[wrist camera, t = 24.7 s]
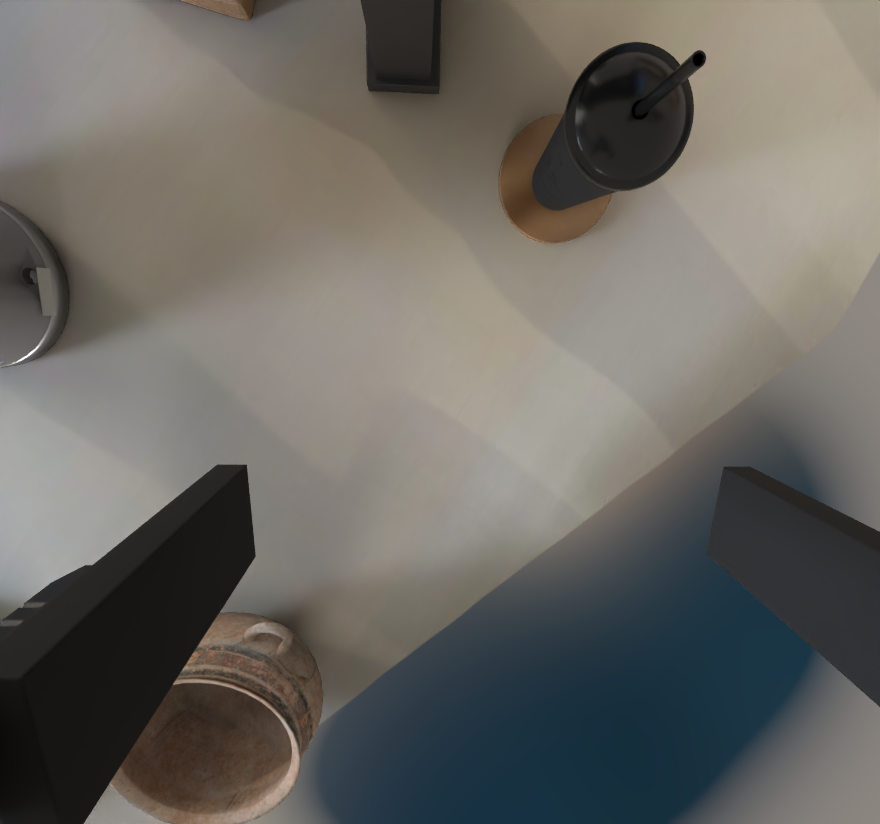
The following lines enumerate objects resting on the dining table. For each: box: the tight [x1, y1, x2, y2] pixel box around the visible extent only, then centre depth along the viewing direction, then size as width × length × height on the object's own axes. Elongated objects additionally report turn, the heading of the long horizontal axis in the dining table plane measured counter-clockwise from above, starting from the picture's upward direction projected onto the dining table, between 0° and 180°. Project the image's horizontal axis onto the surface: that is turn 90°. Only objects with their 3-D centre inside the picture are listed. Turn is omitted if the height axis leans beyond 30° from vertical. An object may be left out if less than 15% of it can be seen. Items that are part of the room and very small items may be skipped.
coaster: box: [499, 115, 612, 243], centre depth 39 cm, size 10×10×1 cm
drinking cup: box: [532, 42, 706, 210], centre depth 29 cm, size 8×8×20 cm
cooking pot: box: [110, 612, 323, 824], centre depth 44 cm, size 25×19×12 cm
